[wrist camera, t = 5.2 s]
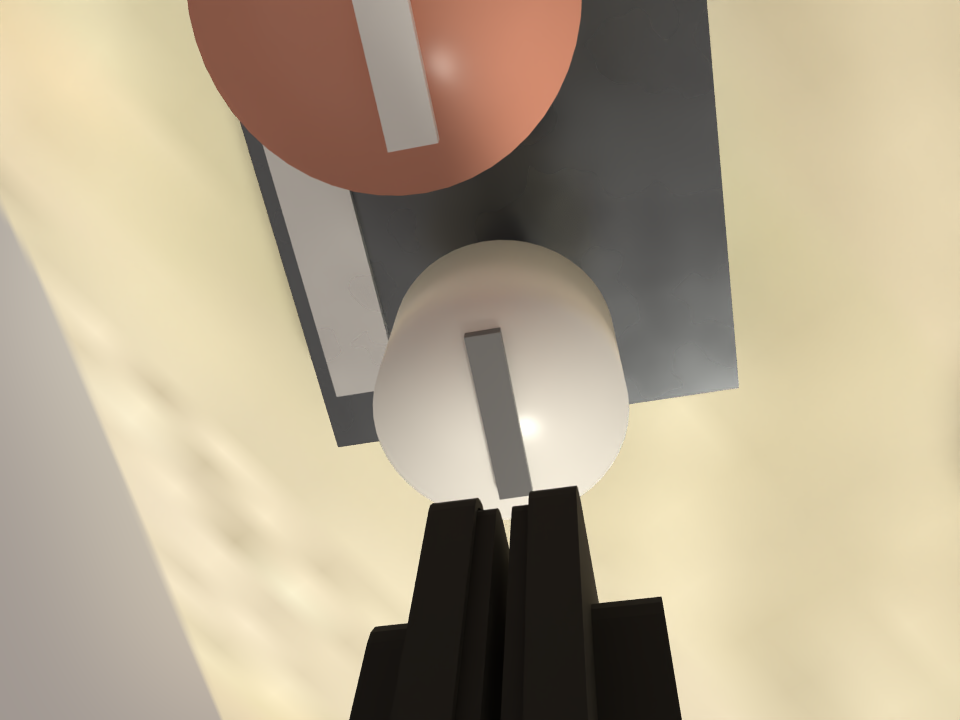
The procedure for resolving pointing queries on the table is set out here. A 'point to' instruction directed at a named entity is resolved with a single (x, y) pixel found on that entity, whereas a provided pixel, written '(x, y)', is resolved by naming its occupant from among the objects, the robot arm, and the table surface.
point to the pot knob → (388, 82)
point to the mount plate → (543, 217)
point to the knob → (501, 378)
